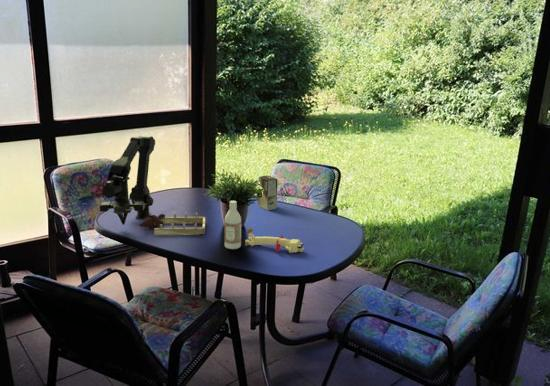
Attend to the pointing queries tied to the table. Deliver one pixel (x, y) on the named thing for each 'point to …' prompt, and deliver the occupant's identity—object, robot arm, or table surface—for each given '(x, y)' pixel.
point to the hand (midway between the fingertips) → (123, 224)
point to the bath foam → (232, 227)
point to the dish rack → (183, 221)
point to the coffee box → (268, 193)
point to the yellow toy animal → (274, 242)
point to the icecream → (152, 221)
